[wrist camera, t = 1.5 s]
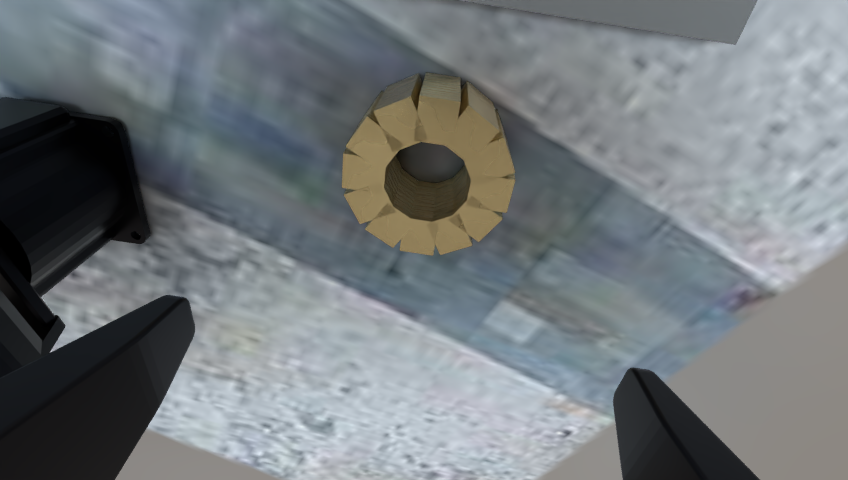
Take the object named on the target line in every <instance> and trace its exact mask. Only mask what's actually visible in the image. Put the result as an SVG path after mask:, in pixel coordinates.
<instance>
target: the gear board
mask: <svg viewBox="0 0 848 480" xmlns="http://www.w3.org/2000/svg"><path fill="white" fill-rule="evenodd" d="M460 1H466V2H472V3H478V4H485V5H491V6H497V7H503V8H509V9H516V10H522V11H528V12H534V13H541V14H547V15H553V16H559V17H565V18H572V19H578V20H584V21H590V22H597V23H603V24H609V25H615V26H621V27H628V28H634V29H640V30H646V31H653V32H659V33H665V34H671V35H677V36H684V37H690V38H696V39H702V40H709V41H715V42H721V43H727V44H734V45H736V43H737V41H738V39H739V37H740V35H741V33H742V31H743V29H744V27H745V25H746V23H747V21H748V19H749V17H750V14H751V12H752V10H753V8H754V6H755V4H756V2H757V0H460Z"/></svg>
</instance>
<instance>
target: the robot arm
mask: <svg viewBox="0 0 848 480" xmlns="http://www.w3.org/2000/svg"><path fill="white" fill-rule="evenodd" d="M108 127H109V128H111V129H112V131H113V133H114V134H113V133H111V132H110V131H109V129H108ZM136 232H137V233H139V234H140V235H139V234H137V233H136ZM149 237H150V230H149V226H148V222H147V218H146V214H145V210H144V206H143V202H142V198H141V194H140V190H139V186H138V182H137V178H136V174H135V170H134V166H133V161H132V157H131V153H130V149H129V145H128V141H127V137H126V133H125V130H124V128H123V126H122V125H121V123H120V122H118V121H117V120H115V119H112V118H107V117H101V116H94V115H88V114H81V113H75V112H68V110H67V109H65V108H64V107H62V106H59V105H53V104H47V103H40V102H34V101H27V100H21V99H14V98H7V97H5V98H1V99H0V480H115V478H116V477H117V475H118V474H119V472H120V470H121V469H122V467H123V466H124V464H125V462H126V461H127V459H128V457H129V456H130V454H131V453H132V451H133V449H134V448H135V446H136V444H137V443H138V441H139V439H140V438H141V436H142V434H143V433H144V431H145V430H146V428H147V427H148V425H149V423H150V422H151V420H152V418H153V417H154V415H155V413H156V412H157V410H158V408H159V407H160V405H161V403H162V401H163V399H164V397H165V395H166V393H167V391H168V389H169V387H170V385H171V383H172V381H173V379H174V377H175V374H176V372H177V370H178V368H179V366H180V364H181V362H182V360H183V358H184V356H185V354H186V352H187V349H188V347H189V345H190V343H191V341H192V339H193V337H194V333H195V324H194V320H193V316H192V311H191V307H190V303H189V301H188V300H187V299H186V298H184V297H179V296H173V295H165V296H162V297H160V298H158V299H156V300H154V301H152V302H150V303H148V304H146V305H144V306H142V307H140V308H138V309H136V310H134V311H132V312H130V313H128V314H126V315H124V316H122V317H120V318H118V319H116V320H114V321H112V322H110V323H108V324H106V325H104V326H102V327H100V328H98V329H96V330H94V331H92V332H90V333H88V334H86V335H84V336H83V337H81V338H79V339H77V340H75V341H73V342H71V343H69V344H67V345H65V346H63V347H61V348H59V349H57V350H55V351H53V352H51V353H50V351H51V349H52V348H53V346H54V344H55V343H56V341H57V340H58V338H59V336H60V335H61V333H62V331H63V330H64V328H65V324H64V323H63V322H62V320H61V319H60V318H59V316H58V315H54V314H53V313H52V312H51V310H50V309H49V308H48V306H47V305H46V304H45V302H44V301H43V300H42V299H41V297H42V296H43V295H44V294H45V293H46V292H48V291H49V290H50V289H51V288H53V287H54V286H55V285H56V284H57V283H59V282H60V281H61V280H62V279H64V278H65V277H66V276H67V275H69V274H70V273H71V272H72V271H73V270H75V269H76V268H77V267H78V266H80V265H81V264H82V263H83V262H84V261H86V260H87V259H88V258H89V257H91V256H92V255H93V254H94V253H96V252H97V251H98V250H99V249H100V248H102V247H103V246H104V245H105V244H107V243H108V242H109V241H110V240H116V241H123V242H129V243H136V244H142V243H144V242H145V241H146V240H147V239H149ZM613 406H614V414H615V422H616V430H617V438H618V446H619V455H620V462H621V470H622V477H623V480H760V479H759V478H758V477H757V476H756V475H755V474H754V473H753V472H752V471H751V470H750V469H749V468H748V467H747V466H746V465H745V464H744V463H743V462H742V461H741V460H740V459H739V458H738V457H737V456H736V455H735V454H734V453H733V452H732V451H731V450H730V449H729V448H728V447H727V446H726V445H725V444H724V443H723V442H722V441H721V440H720V439H719V438H718V437H717V436H716V435H715V434H714V433H713V432H712V431H711V430H710V429H709V428H708V427H707V426H706V425H705V424H704V423H703V422H702V421H701V420H700V418H698V417H697V415H696V414H694V412H693V411H692V410H691V409H690V408H689V407H688V406H687V405H686V404H685V403H684V402H683V401H682V400H681V399H680V398H679V397H678V396H677V395H676V394H675V393H674V392H673V391H672V390H671V389H670V388H669V387H668V386H667V385H666V384H665V383H664V382H663V381H662V380H661V379H660V378H659V377H658V376H657V375H656V374H655V373H654V372H652V371H650V370H646V369H640V368H630V369H628V370H627V372H626V373H625V375H624V377H623V379H622V381H621V382H620V384H619V386H618V388H617V389H616V391H615V394H614V398H613Z"/></svg>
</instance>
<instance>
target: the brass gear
mask: <svg viewBox="0 0 848 480" xmlns="http://www.w3.org/2000/svg"><path fill="white" fill-rule="evenodd" d="M420 142H425V143H432V144H438V145H445V146H446V147H448V148H449V149H450V150H451V151H453V152H454V153H455V154H457V155H458V156H459V157H460V158H462V159H463V160H464V163H465V165H464V166H463V168H462V169H461V170H460V171H459V172H458V173H457V174H456V175H455V176H454V177H453V178H451V179H448V180H445V181H442V182H439V183H429V182H423V181H417V180H416V179H415V178H413V177H412V176H411V175H409V174H408V173H407V172H405V171H404V170H403V169H402V167H401V165H400V163H399V160H398V158H397V156H396V154H397V152H398V151H399V150H401V149H403V148H406V147H409V146H411V145H414V144H417V143H420ZM346 147H347V148H346V150H345V151H344V153H343V171H342V188H347V189H346V191H345V193H344V196H345V198H346V200H347V202H348V203H349V205H350V207H351V209H352V211H353V213H354V214H355V216H356V218H357V220H358V222H359V223H360V224H362V223H365V222H367V225H366V228H365V230H367V231H368V232H370V233H371V234H373V235H374V236H376V237H377V238H379V239H380V240H382V241H383V242H385V243H386V244H388V245H389V246H391V247H392V248H393V247H394V246H395V245H396V244H397V243H398V242H399V241H400V240H401V244H400V251H406V252H413V253H419V254H426V255H433V253H434V247H435V245H436V247H437V249H438V251H439V253H440V255H442V254H446V253H449V252H452V251H456V250H459V249H463V248H466V247H469V246H472V238H474V239H475V240H477V241H478V242H479V241H480V240H481V239H482V238H483V237H484V236H485V235H487V234H488V233H489V232H490V231H491V230H492V229H493V228H494V227H495V226H496V225H497V224H498V223H499V222H500V221H501V220H502V219H503V218H502V212H504V213H507V209H508V206H509V202H510V198H511V195H512V191H513V187H514V184H515V176H514V173H515V169H514V165H513V162H512V158H511V154H510V150H509V146H508V142H507V139H506V135H505V132H504V129H503V126H502V123H501V120H500V117H499V113H498V110H497V109H494V105H493V102H492V101H490V100H489V99H488V98H487V97H486V96H485V95H483V94H482V93H481V92H480V91H479V90H477V89H476V88H475V87H474V86H473V85H472V84H470V83H469V82H468V81H467V82H466V83H465V84H464V85H463V87H462V88H461V83H460V78H459V77H453V76H447V75H440V74H434V73H428V72H426V74H425V78H424V81H423V83H422V80H421V78H420V75H419V73H418V74H415V75H413V76H411V77H408V78H406V79H403V80H401V81H399V82H396V83H394V84H391V85H389V86H387V88H386V89H385V91H384V92H383V91H381V92H380V94H379V95H378V97H377V98H376V99H375V101H374V102H373V104H372V105H371V107H370V108H369V109H368V111H367V112H366V114H365V115H364V116H363V118H362V120H361V121H360V123H359V125H358V126H357V128H356V130H355V131H354V133H353V135H352V136H351V138H350V140H349V141H348V143H347V145H346Z"/></svg>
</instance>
